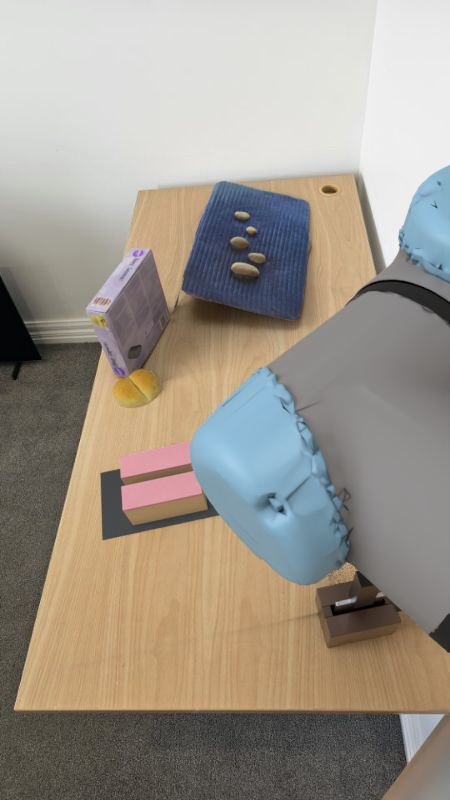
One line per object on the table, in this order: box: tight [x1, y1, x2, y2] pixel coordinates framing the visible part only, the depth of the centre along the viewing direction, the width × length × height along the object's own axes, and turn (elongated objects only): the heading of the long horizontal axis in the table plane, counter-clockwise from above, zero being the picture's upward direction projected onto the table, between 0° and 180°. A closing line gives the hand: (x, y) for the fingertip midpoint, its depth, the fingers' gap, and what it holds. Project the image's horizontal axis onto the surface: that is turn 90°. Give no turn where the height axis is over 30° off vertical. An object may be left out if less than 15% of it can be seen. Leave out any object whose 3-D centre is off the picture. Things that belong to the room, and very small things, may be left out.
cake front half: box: [121, 471, 208, 525], centre depth 77 cm, size 12×4×6 cm, turn 100°
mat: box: [171, 180, 313, 322], centre depth 114 cm, size 45×27×12 cm, turn 173°
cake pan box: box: [84, 246, 172, 378], centre depth 95 cm, size 19×5×18 cm, turn 160°
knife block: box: [314, 580, 402, 649], centre depth 65 cm, size 9×6×7 cm, turn 100°
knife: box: [333, 570, 385, 616], centre depth 61 cm, size 6×2×19 cm, turn 100°
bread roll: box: [112, 368, 161, 409], centre depth 94 cm, size 8×9×4 cm
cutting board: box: [99, 468, 220, 541], centre depth 82 cm, size 24×12×2 cm, turn 100°
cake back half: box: [119, 440, 193, 485], centre depth 80 cm, size 12×4×6 cm, turn 100°
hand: (381, 533), depth 49 cm, fingers open, 13 cm apart
